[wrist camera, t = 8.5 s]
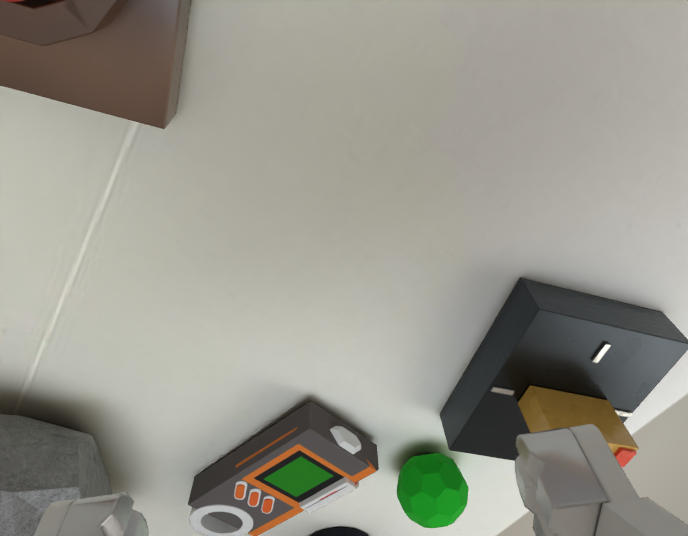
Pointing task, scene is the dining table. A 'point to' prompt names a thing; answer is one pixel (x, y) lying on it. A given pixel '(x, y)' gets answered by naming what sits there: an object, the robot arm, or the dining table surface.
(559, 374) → the block
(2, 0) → the button
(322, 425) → the electronic device
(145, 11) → the button block
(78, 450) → the potted plant
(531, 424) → the tap handle
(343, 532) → the insulated water bottle
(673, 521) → the robot arm
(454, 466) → the polyhedron
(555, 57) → the dining table surface
